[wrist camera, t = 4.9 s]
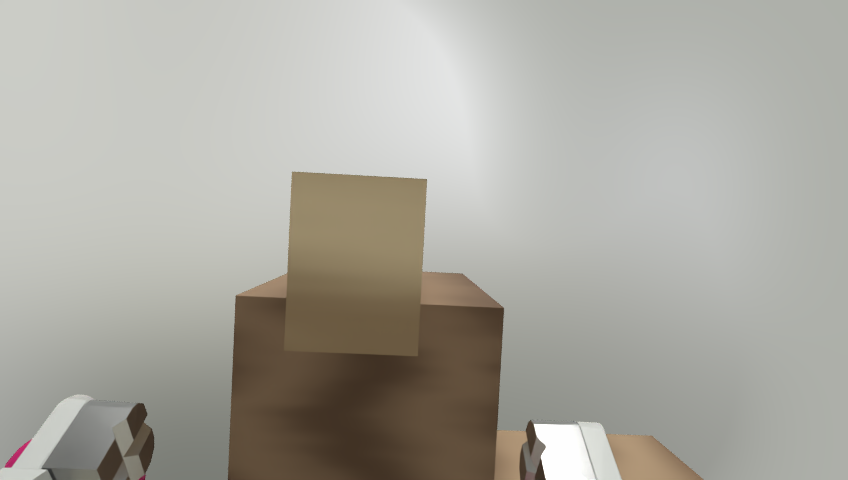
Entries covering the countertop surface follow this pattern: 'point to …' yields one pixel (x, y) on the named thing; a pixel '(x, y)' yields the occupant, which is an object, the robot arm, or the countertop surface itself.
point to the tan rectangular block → (355, 264)
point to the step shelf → (389, 400)
